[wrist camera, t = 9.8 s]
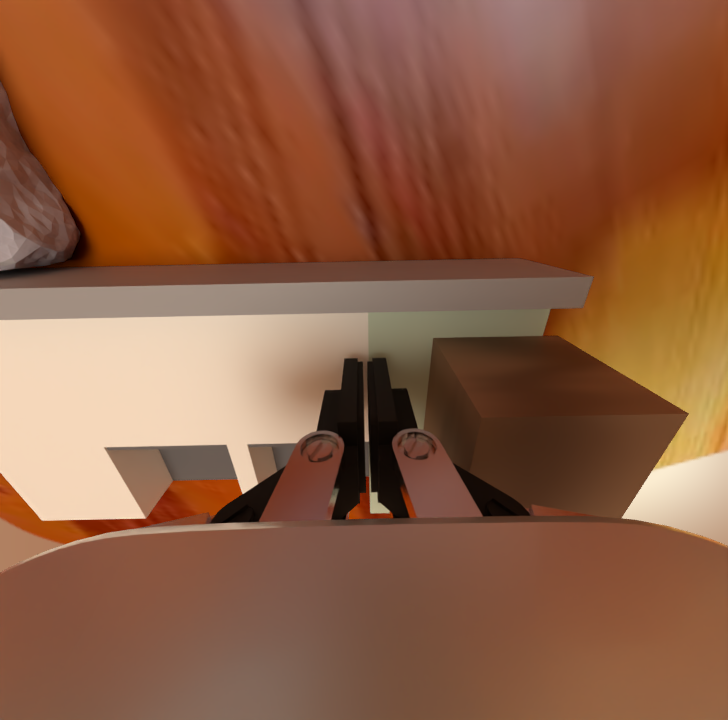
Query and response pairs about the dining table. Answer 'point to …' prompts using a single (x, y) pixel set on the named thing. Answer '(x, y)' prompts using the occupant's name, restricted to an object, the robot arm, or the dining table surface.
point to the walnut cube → (546, 421)
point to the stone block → (29, 204)
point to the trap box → (223, 363)
